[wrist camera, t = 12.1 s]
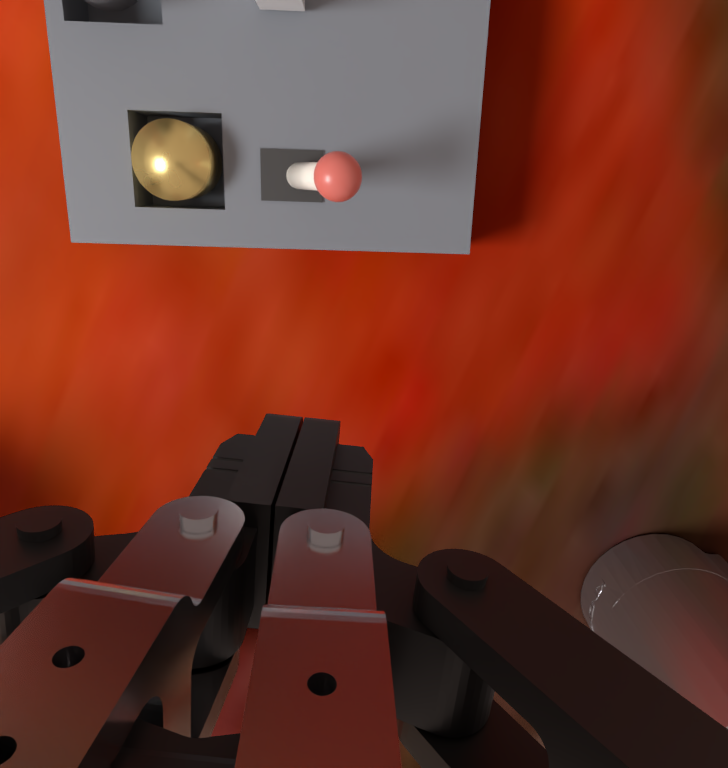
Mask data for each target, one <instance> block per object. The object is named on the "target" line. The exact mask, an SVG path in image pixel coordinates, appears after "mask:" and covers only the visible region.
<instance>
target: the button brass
mask: <svg viewBox="0 0 728 768" xmlns="http://www.w3.org/2000/svg"><path fill="white" fill-rule="evenodd" d="M131 161H132V166H133V170H134V172H135V175H136V177H137V179H138V180H139V182H140V183H141V184H142V186H143V187H144V188H145V189H146V190H148V191H149V192H150V193H151V194H153V195H155V196H157V197H159V198H161V199H165V200H170V201H179V200H187V199H195V198H199V197H202V196H204V195H206V194H208V193H209V192H210V191H211V190H212V189H213V188H214V187H215V186H216V184H217V183H218V181H219V179H220V176H221V172H222V157H221V153H220V150H219V148H218V146H217V144H216V142H215V141H214V139H213V138H212V137H211V136H210V135H209V134H208V133H207V132H205V131H204V130H203V129H201V128H199V127H197V126H194V125H191V124H188V123H185V122H183V121H180V120H176V119H171V118H162V119H157V120H154V121H152V122H150V123H148V124H147V125H145V126H144V127H143V128H142V129H141V130H140V131H139V132H138V134H137V135H136V137H135V139H134V142H133V145H132V150H131Z"/></svg>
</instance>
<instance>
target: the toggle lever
mask: <svg viewBox="0 0 728 768" xmlns="http://www.w3.org/2000/svg"><path fill="white" fill-rule="evenodd" d="M286 176H287V181H288V183H289V184H290V185H291V186H292V187H293V188H296V189H303V190H316V191H318V192H319V193H320V194H321V195H322V196H323V197H324V198H326V199H327V200H330V201H333V202H344V201H347V200H349V199H351V198H352V197H353V196H354V195H355V194H356V193H357V192H358V190H359V188H360V186H361V182H362V171H361V168H360V165H359V163H358V162H357V161H356V159H355V158H354V157H353V156H351V155H350V154H348V153H346V152H342V151H333V152H329V153H327V154H325V155H324V156H323V157H321V158H320V160H319V161H318V162H300V163H294V164H292V165H291V166H290V167H289V168H288V170H287V175H286Z"/></svg>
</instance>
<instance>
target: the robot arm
mask: <svg viewBox="0 0 728 768" xmlns="http://www.w3.org/2000/svg"><path fill="white" fill-rule="evenodd" d="M339 434H340V421H334V420H325V419H316V418H306V417H305V419H304V422H303V418H302V417H296V416H286V415H277V414H266V416H265V418H264V420H263V422H262V424H261V426H260V428H259V430H258V432H257V434H256V436H254V435H245V434H237V435H235V436H233V437H232V438H230V439H228V440H226V441H225V442H223V443H221V444H220V446H219V448H218V449H217V451H216V453H215V454H214V456H213V459H211V461H210V463H209V464H208V466H207V469H206V470H205V471H204V472H203V474H202V476H201V477H200V479H199V481H198V482H197V484H196V486H195V487H194V489H193V491H192V492H191V494H190V496H189V497H185V498H181V499H177V500H174V501H171V502H169V503H167V504H165V505H163V506H162V507H160V508H159V509H158V510H157V511H156V512H155V513H154V514H153V515H152V516H151V518H150V519H149V520H148V521H147V522H146V524H145V525H144V526H143V527H142V528H141V530H140V531H139V532H135V533H127V534H116V535H104V536H94V527H93V521H92V518H91V517H90V516H89V515H88V514H87V513H85V512H84V511H82V510H79V509H77V508H73V507H68V506H41V507H34V508H29V509H25V510H22V511H18V512H15V513H12V514H9V515H6V516H3V517H0V768H401V759H400V749H399V739H400V741H401V742H402V744H403V745H404V746H405V748H406V749H407V750H408V751H409V753H410V754H411V755H412V756H413V757H414V759H415V760H416V761H417V762H418V763H419V765H420V766H421V767H422V768H728V563H727V562H726V561H725V560H724V559H723V558H722V557H721V556H720V555H718V554H707V553H704V552H703V551H701V550H700V549H699V548H697V547H696V546H695V545H694V544H692V543H691V542H689V541H687V540H684V539H682V538H680V537H676V536H671V535H667V534H650V535H644V536H638V537H635V538H632V539H629V540H626V541H623V542H622V543H620V544H618V545H616V546H614V547H613V548H611V549H610V550H608V551H607V552H606V553H605V554H603V555H602V556H601V557H600V558H599V559H598V560H597V561H596V563H595V564H594V565H593V566H592V567H591V569H590V571H589V572H588V574H587V576H586V578H585V580H584V583H583V587H582V590H581V607H582V611H583V615H584V617H585V619H586V621H587V623H588V625H589V627H590V629H591V630H590V629H589V628H588V627H586V626H585V625H584V624H582V623H581V622H579V621H578V620H577V619H575V618H574V617H573V616H571V615H570V614H568V613H567V612H566V611H564V610H563V609H562V608H560V607H559V606H557V605H556V604H555V603H553V602H552V601H551V600H549V599H548V598H546V597H545V596H544V595H542V594H541V593H540V592H538V591H537V590H535V589H534V588H533V587H531V586H530V585H528V584H527V583H526V582H524V581H523V580H522V579H520V578H519V577H517V576H516V575H515V574H513V573H512V572H511V571H509V570H508V569H506V568H505V567H504V566H502V565H501V564H500V563H498V562H496V561H495V560H493V559H491V558H489V557H487V556H485V555H482V554H480V553H476V552H473V551H468V550H463V549H445V550H439V551H435V552H433V553H430V554H428V555H427V556H426V557H424V558H423V559H422V560H421V562H420V563H419V566H418V567H416V566H413V565H410V564H407V563H404V562H401V561H398V560H396V559H394V558H392V557H390V556H389V555H387V554H385V553H384V552H383V551H381V550H380V549H379V548H378V547H377V546H376V545H375V544H374V542H373V541H372V539H371V535H370V531H369V523H370V504H371V485H372V468H373V459H372V458H371V456H370V455H369V454H368V453H367V451H366V450H365V449H364V447H359V446H350V445H340V444H339ZM247 628H256V629H259V630H258V636H257V642H256V647H255V653H254V659H253V665H252V670H251V676H250V682H249V688H248V693H247V699H246V705H245V711H244V716H243V722H242V728H241V733H240V734H231V735H223V736H214V737H210V736H211V734H212V731H213V729H214V726H215V724H216V721H217V719H218V716H219V714H220V711H221V709H222V706H223V704H224V701H225V699H226V696H227V694H228V691H229V689H230V686H231V684H232V681H233V679H234V677H235V674H236V672H237V669H238V665H239V652H240V646H241V644H242V642H243V640H244V636H245V633H246V630H247ZM495 691H496V692H497V693H498V694H499V695H500V696H501V697H502V698H503V699H504V700H505V701H506V702H507V703H508V704H509V705H510V706H512V707H513V708H514V709H515V710H516V711H517V712H518V713H519V714H520V715H521V716H522V717H523V718H524V719H525V720H526V721H528V722H529V723H530V724H531V726H532V727H533V728H534V729H535V730H536V732H537V733H538V734H539V736H540V738H541V739H542V741H543V743H544V746H545V748H546V749H545V748H544V747H543V746H542V745H540V744H539V743H538V742H537V741H536V740H535V739H534V738H533V737H532V736H531V735H530V734H529V733H528V732H527V731H526V730H525V729H524V728H523V727H522V726H521V725H520V724H518V723H517V722H516V721H515V720H514V719H513V718H512V717H511V716H510V715H509V714H508V713H507V712H506V711H505V710H504V709H503V708H502V707H501V706H500V705H499V704H498V703H496V702H495V701H494V700H493V696H494V692H495ZM398 737H399V739H398Z"/></svg>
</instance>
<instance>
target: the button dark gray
mask: <svg viewBox="0 0 728 768" xmlns="http://www.w3.org/2000/svg"><path fill="white" fill-rule="evenodd" d="M84 1H86V2H87V3H89V4H90V5H92V6H94V7H95V8H98V9H100V10H104V11H111V12H112V11H121V10H124V9H127V8H129V7H130V6H132V5H133V4H135V3H136V2H137V1H138V0H84Z"/></svg>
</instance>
